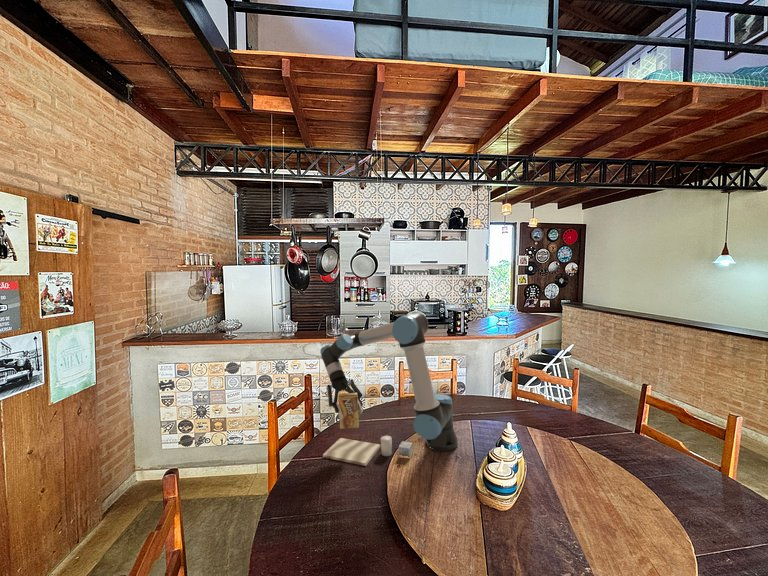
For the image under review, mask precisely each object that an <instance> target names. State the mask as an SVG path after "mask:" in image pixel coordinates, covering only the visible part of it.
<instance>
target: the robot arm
mask: <svg viewBox="0 0 768 576" xmlns="http://www.w3.org/2000/svg"><path fill="white" fill-rule="evenodd" d="M428 321H429V320H428V318H427V317H426V316H425V315H424V314H423V313H421V312H417V311H414V312H411V313H408V314H403V315H401V316H399V317H398V318H397V319H396V320H394V321H393V322H389V323H385V324H382V325H379V326H375V327H371V328H368V329H365V330H364V329H363V330H361V331H358V332H357V331H356V332H353V333H350V334H346V333H343V334H341V335H340V336H338V337H337V339H336V340H335V341H333V343H332V344H325V346H322V347H320V351H319V353H320V356H321V359H322V361H323V364H324V367H325V370H326V372H327V376H328V379H329V381H330V384H327V386H326V392H327V397H328V399H327V400H328V406H329V407H332V408H333V409H334V412H335V413H336V414H337V416H338V418H340V419H339V421H340V420H342V419H343V414H342V412H341V409H340V406H339V403H338V396H339V393H340V392H342V391H343V392H344V391H345V392H346V393H357V396H358V414H359V415H362V413H363V412H364V410H363V408H362V404H363V403H362V401H361V398H362V397H363V394H362V392H361V390H360V389H359V387H358V386H357V385H356V384H355V382H354V379H353V378H352V379H349V380H348V379H347V377H346V374H345V373H344V372H345V371H344V370H343V367H342V364H341V361H340V360H339V359H340V358H342V356H343V355H344V354H345V353H346V352H349V351H351V350H353V349H355V348H359V347H364V346H366V345H370V344H374V343H378V342H381V341H386V340H389V339H394V340H395V341H397V343H398V345H399V348H400V349H402V350H403V351H404V354H405V359H406V365H407V368H408V371H409V373H408V374H409V377H410V382H411V386H412V389H413V390H412V391H413V395H414V398H415V405H414V406H413V410H414V414H415V417H414V420H413V425H412V426H413V429H414V431H415V433H416V434H417V435H418V436H420V437H421V438H422V439H424V440H425V444H426V443H427V445H428V446H429V447H431V448H433V449H435V450H434V451H436V450H438V451H437V452H448V451H452V450H454V449H456V448H457V447H458V445H459V443H458V436H457V434H456V432H455V427H454V417H453V416H454V415H453V413H454V412H453V410H454V409H453V398H452V397H451V396H449V395H446V394H443V393H442V394H441V393H434V388H433V384H432V379H431V375H430V371H429V367H428V362H427V358H426V353H425V349H424V345H425V344H426V339H425V338H426V337H425V333H427V331H428V329H429V322H428ZM332 389H333V390H335V391H334V396H333V390H332ZM333 398H334V399H333ZM427 445H426V446H427ZM428 446H427V447H428ZM429 447H428V448H429ZM431 448H430V449H431ZM433 449H432V450H433Z"/></svg>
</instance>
